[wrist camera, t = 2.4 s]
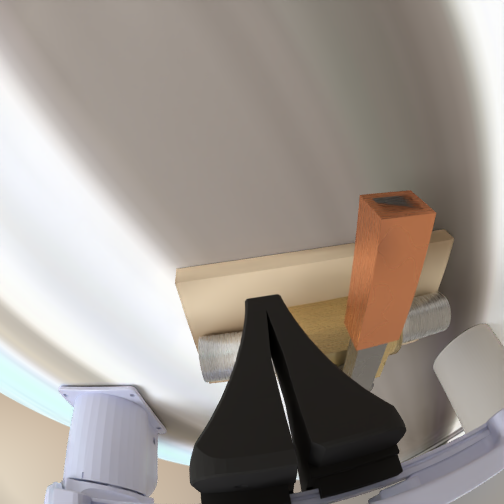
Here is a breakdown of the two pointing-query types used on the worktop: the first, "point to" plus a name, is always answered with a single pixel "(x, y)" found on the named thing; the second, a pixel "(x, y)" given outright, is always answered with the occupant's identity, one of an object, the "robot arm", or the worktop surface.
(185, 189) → the worktop surface
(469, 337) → the cup
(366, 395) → the robot arm
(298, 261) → the mount board
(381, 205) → the valve lever
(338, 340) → the valve pipe
